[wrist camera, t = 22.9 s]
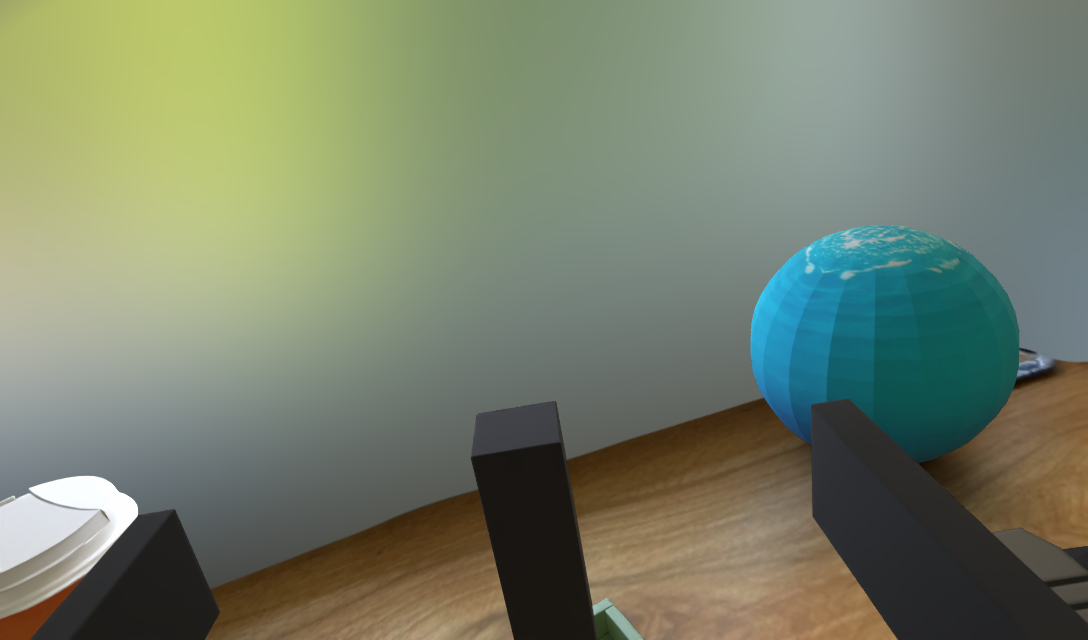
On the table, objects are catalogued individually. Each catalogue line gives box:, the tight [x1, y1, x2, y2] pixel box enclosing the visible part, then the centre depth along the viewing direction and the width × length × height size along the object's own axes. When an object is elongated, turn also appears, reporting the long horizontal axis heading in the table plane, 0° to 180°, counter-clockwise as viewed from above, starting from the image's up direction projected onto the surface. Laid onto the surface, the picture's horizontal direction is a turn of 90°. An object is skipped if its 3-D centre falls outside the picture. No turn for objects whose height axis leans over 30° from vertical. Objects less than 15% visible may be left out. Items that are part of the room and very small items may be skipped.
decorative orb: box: [751, 225, 1019, 463], centre depth 40 cm, size 15×15×15 cm
